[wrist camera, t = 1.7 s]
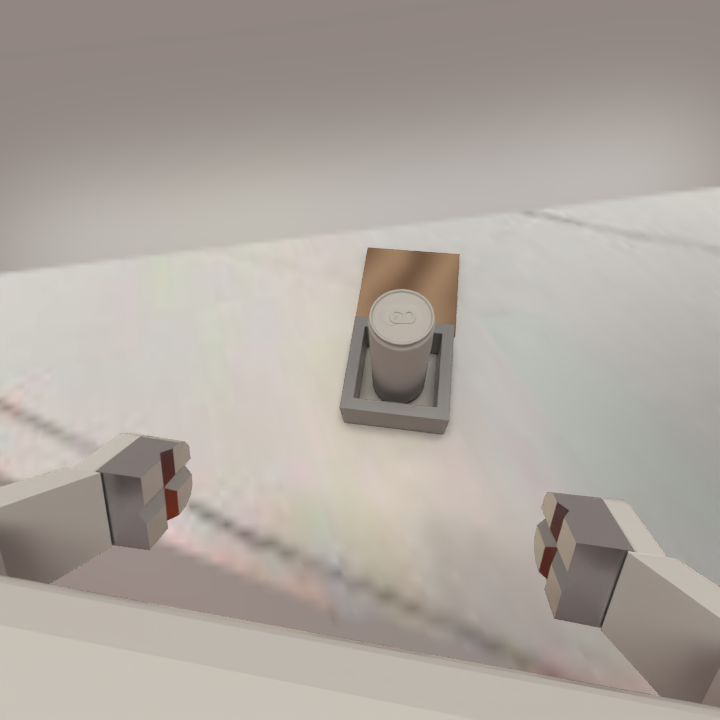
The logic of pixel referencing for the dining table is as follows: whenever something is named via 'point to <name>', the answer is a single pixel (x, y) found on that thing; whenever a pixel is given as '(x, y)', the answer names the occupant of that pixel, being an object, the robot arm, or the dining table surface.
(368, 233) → the dining table surface
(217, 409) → the dining table surface
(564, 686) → the robot arm
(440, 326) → the can holder
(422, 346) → the beverage can
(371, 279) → the coaster
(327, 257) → the dining table surface
